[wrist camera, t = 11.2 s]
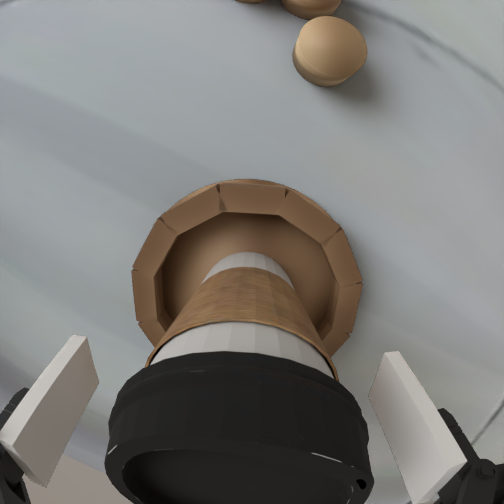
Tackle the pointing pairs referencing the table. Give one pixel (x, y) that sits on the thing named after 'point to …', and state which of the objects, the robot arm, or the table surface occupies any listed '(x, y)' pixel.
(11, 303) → the table surface
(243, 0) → the bead
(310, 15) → the bead
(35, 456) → the robot arm
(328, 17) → the bead
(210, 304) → the coffee cup
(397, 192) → the table surface
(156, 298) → the round tray
